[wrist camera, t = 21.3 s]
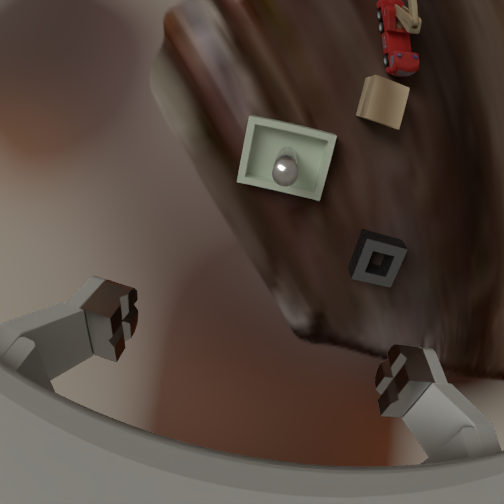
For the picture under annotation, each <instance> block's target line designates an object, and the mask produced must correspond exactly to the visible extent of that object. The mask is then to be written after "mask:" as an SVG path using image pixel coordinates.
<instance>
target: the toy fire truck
mask: <svg viewBox="0 0 504 504" xmlns="http://www.w3.org/2000/svg"><path fill="white" fill-rule="evenodd" d="M408 4H409V9H408V8H406V7H405V6H404V2H403V1H398V0H378V2H377V9H381V10H378V12H377V17H378V20H380V21H383V22H380V23H379V30H380V32H382V43H383V50H384V51H383V52H384V54H385V56H384V65H385V66H386V72H387V73H388V74H391V75H393V76H399V77H402V76H410V75H412V74H414V73H416V72H417V71H418V69H419V55H418V53H412V52H411V44H410V36H409V35H411V34H412V33H414V34H419V32H420V28H421V23H422V22H421V18H420V17H419V16H418V10H417V0H408Z"/></svg>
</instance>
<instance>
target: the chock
mask: <svg viewBox="0 0 504 504" xmlns="http://www.w3.org/2000/svg"><path fill="white" fill-rule="evenodd" d="M409 90H410V88H409V87H406V86H404V85H401V84H399V83H396V82H394V81H391V80H388V79H386V78H383V77H380V76H378V75H374V76H370V77H367V78H365V82H364V86H363V90H362V94H361V98H360V102H359V106H358V110H357V114H356V116H359V117H362V118H365V119H368V120H371V121H374V122H376V123H379V124H382V125H385V126H388V127H391V128H395V129H398V130H399V128H400V125H401V121H402V117H403V114H404V110H405V106H406V102H407V98H408V94H409Z"/></svg>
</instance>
